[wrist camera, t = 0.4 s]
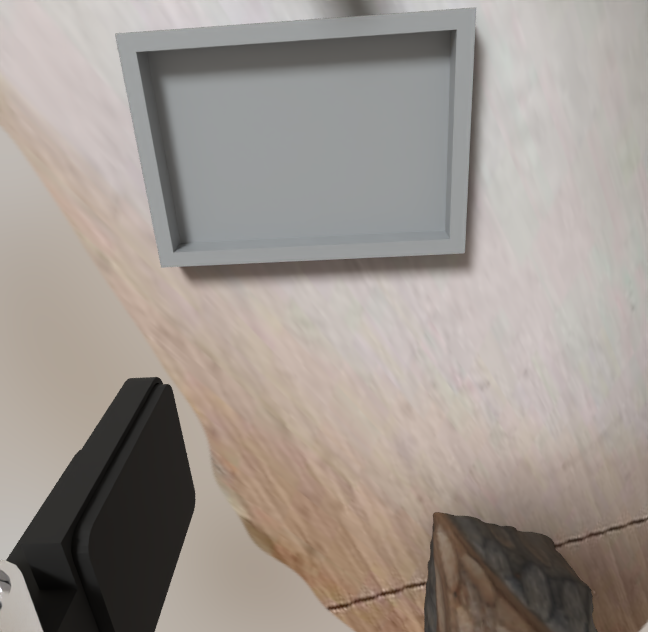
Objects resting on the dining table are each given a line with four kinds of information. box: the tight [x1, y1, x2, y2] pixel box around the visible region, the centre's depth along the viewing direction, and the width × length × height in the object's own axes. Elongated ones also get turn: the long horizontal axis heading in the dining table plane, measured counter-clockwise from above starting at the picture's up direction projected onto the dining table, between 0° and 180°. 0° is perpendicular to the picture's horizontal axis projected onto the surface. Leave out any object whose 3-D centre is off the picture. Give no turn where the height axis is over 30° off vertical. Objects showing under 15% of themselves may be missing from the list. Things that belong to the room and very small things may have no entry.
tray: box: [115, 8, 476, 267], centre depth 35 cm, size 14×20×2 cm
